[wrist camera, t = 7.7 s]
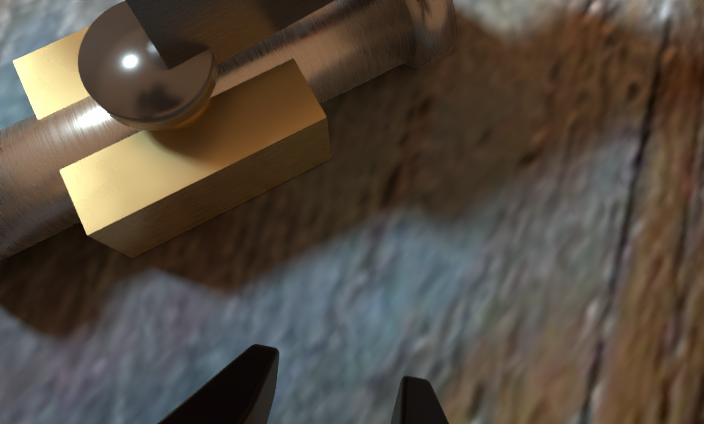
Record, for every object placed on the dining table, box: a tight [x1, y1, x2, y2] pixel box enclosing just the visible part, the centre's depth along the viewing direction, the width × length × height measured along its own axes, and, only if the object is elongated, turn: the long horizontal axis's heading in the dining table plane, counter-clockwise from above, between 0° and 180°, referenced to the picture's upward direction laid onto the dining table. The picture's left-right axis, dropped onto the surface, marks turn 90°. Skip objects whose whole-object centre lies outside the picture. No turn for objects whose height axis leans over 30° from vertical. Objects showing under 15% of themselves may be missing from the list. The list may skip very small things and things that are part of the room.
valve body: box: [0, 0, 457, 261], centre depth 17 cm, size 5×15×4 cm, turn 118°
